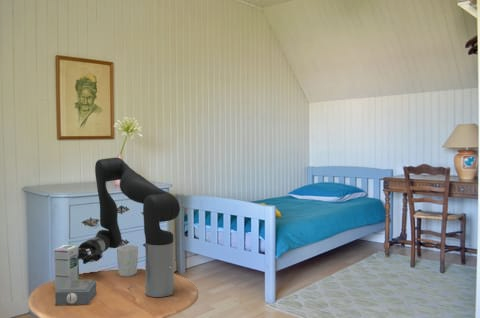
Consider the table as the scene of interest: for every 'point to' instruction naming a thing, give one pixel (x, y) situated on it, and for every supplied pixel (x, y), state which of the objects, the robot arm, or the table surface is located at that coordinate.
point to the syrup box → (66, 264)
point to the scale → (75, 296)
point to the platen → (76, 285)
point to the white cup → (127, 260)
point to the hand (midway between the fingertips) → (72, 260)
